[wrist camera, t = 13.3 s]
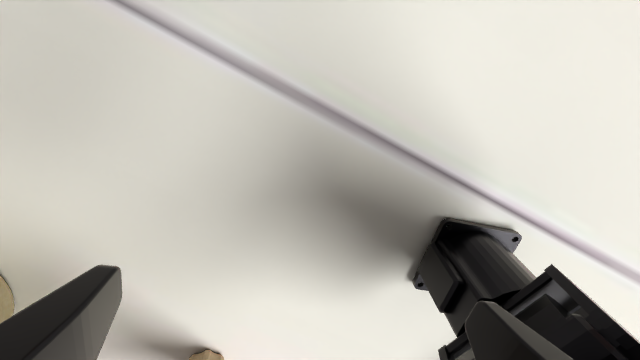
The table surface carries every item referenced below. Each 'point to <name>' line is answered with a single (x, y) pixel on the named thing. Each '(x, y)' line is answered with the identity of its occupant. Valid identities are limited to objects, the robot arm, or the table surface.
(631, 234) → the table surface
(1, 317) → the planter bowl
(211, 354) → the handle
